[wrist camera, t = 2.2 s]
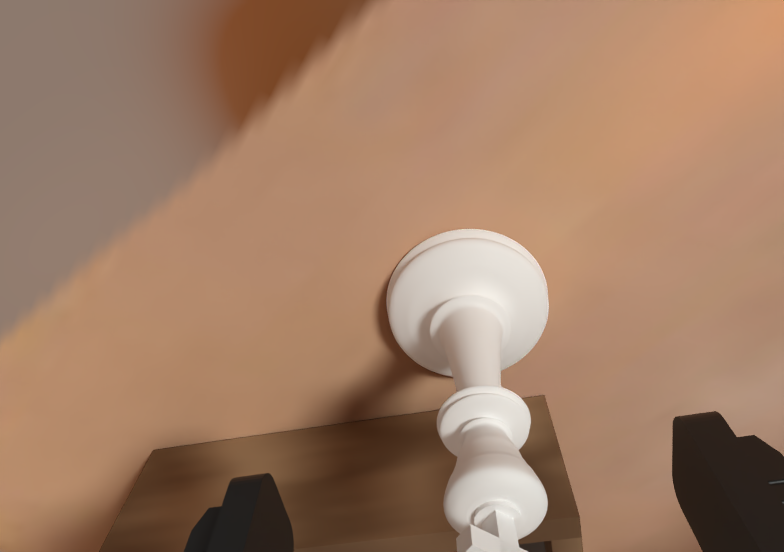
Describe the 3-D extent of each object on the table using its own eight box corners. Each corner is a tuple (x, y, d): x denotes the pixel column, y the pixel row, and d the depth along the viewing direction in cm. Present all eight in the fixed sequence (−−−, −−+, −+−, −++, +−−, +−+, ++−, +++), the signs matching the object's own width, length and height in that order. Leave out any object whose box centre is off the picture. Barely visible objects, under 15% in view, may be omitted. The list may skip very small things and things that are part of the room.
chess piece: (485, 390, 21) (536, 721, 12) (357, 321, 19) (307, 627, 11) (581, 280, 19) (731, 578, 10) (444, 197, 17) (472, 446, 9)
